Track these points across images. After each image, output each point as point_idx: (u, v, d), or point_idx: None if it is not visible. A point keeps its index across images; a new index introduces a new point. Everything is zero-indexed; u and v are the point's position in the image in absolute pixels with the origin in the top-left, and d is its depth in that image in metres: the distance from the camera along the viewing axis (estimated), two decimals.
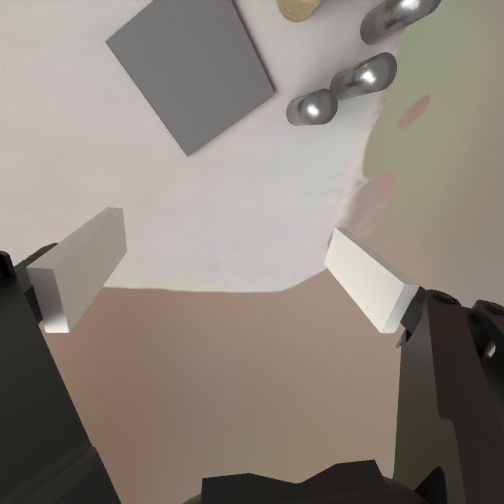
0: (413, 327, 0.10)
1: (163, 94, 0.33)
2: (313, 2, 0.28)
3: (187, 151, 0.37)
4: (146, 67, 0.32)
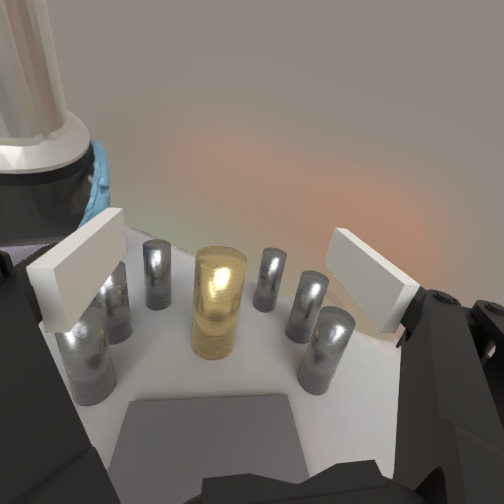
0: (413, 327, 0.10)
1: None
2: (237, 315, 0.29)
3: None
4: None
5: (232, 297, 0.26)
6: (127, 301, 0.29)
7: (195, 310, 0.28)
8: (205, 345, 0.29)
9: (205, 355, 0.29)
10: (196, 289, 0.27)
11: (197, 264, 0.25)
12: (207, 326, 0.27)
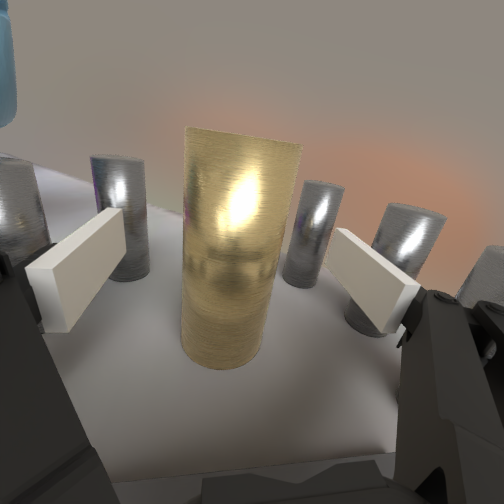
0: (414, 327, 0.10)
1: None
2: None
3: None
4: None
5: (270, 225, 0.11)
6: None
7: (186, 263, 0.13)
8: (208, 338, 0.14)
9: (208, 361, 0.14)
10: (187, 209, 0.12)
11: (188, 137, 0.10)
12: (213, 296, 0.12)
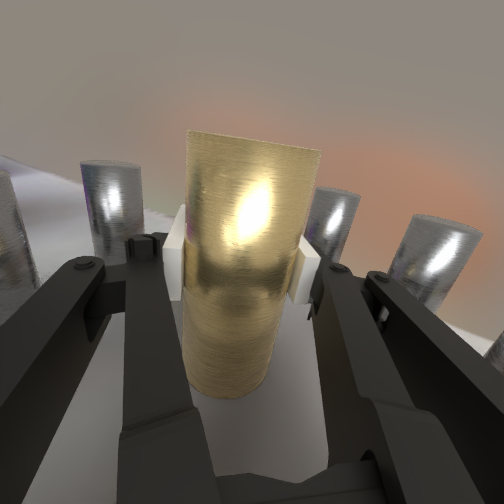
0: (318, 299, 0.11)
1: None
2: None
3: None
4: None
5: (284, 243, 0.10)
6: (27, 271, 0.12)
7: (188, 283, 0.11)
8: (212, 366, 0.12)
9: (212, 390, 0.13)
10: (189, 224, 0.10)
11: (191, 142, 0.09)
12: (219, 321, 0.11)
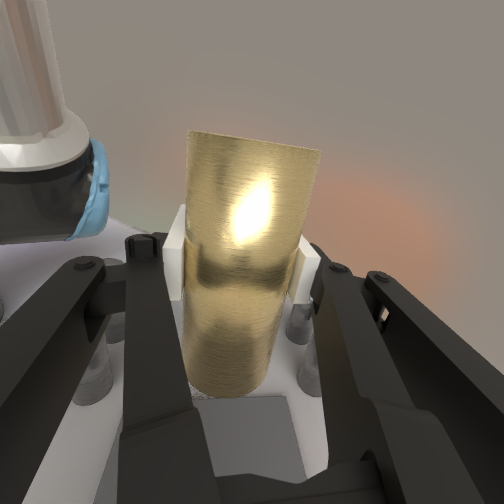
0: (318, 299, 0.11)
1: None
2: None
3: None
4: None
5: (284, 242, 0.10)
6: None
7: (188, 283, 0.11)
8: (212, 366, 0.12)
9: (212, 389, 0.13)
10: (190, 224, 0.10)
11: (191, 142, 0.09)
12: (219, 320, 0.11)
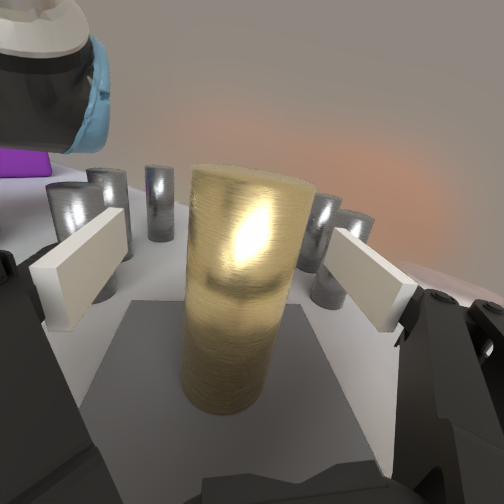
0: (411, 326, 0.10)
1: None
2: (281, 319, 0.13)
3: None
4: (148, 497, 0.10)
5: (280, 273, 0.10)
6: (128, 215, 0.28)
7: (189, 306, 0.12)
8: (210, 384, 0.13)
9: (210, 407, 0.14)
10: (192, 253, 0.11)
11: (195, 181, 0.10)
12: (218, 343, 0.12)
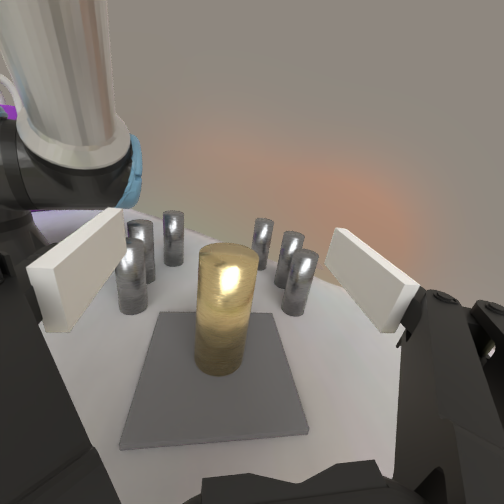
0: (413, 327, 0.10)
1: (220, 407, 0.23)
2: (248, 323, 0.25)
3: (301, 423, 0.22)
4: (181, 408, 0.22)
5: (242, 301, 0.22)
6: (153, 251, 0.39)
7: (198, 317, 0.24)
8: (210, 358, 0.24)
9: (210, 371, 0.25)
10: (200, 292, 0.22)
11: (201, 262, 0.21)
12: (213, 336, 0.23)
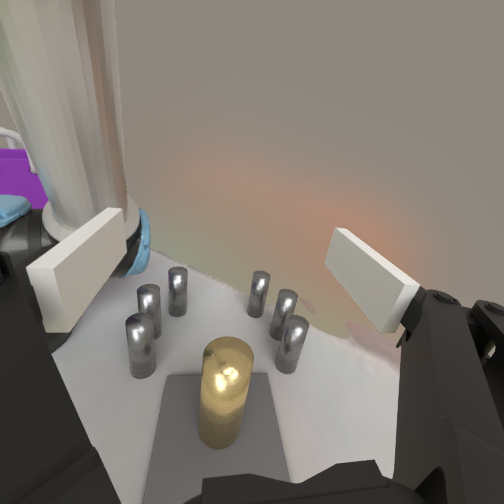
0: (413, 327, 0.10)
1: None
2: (244, 406, 0.29)
3: None
4: (188, 486, 0.26)
5: (239, 397, 0.26)
6: (160, 311, 0.43)
7: (202, 404, 0.28)
8: (212, 437, 0.29)
9: (212, 446, 0.29)
10: (203, 387, 0.27)
11: (205, 367, 0.25)
12: (214, 422, 0.27)
